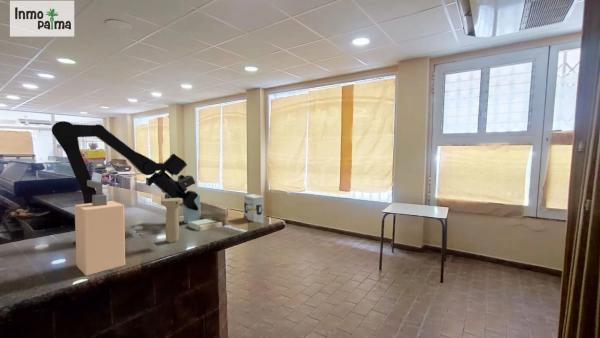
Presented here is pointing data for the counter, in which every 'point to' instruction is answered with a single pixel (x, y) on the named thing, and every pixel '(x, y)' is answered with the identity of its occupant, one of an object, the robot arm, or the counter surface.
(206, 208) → the rack
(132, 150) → the robot arm
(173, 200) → the handle
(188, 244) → the counter surface
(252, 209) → the ink box
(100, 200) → the soap dispenser
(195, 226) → the pale green block
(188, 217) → the light blue block
